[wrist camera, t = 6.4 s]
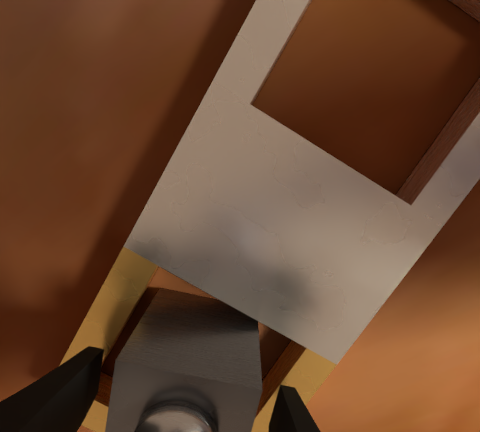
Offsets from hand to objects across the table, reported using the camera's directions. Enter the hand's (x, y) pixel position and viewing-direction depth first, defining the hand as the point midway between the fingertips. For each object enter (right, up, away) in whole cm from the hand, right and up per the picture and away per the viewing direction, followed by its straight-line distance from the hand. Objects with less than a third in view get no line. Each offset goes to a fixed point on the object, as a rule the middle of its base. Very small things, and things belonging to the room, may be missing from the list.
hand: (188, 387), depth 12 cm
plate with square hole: (+4, +6, +1) cm, 7 cm away
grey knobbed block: (0, +1, +2) cm, 3 cm away
